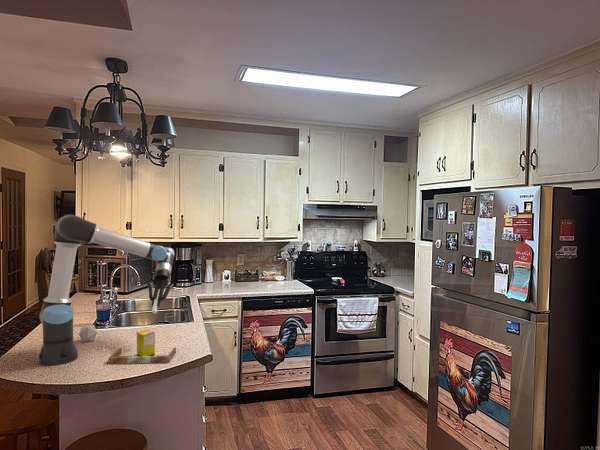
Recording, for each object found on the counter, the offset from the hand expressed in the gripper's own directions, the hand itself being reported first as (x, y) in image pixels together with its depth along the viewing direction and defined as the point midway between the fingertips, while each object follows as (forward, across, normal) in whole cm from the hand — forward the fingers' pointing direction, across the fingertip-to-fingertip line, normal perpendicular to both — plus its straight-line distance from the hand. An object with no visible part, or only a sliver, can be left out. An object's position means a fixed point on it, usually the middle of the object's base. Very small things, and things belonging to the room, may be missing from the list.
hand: (154, 312), depth 200 cm
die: (+4, +36, -20) cm, 42 cm away
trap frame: (+23, 0, -1) cm, 23 cm away
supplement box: (+21, 0, -4) cm, 21 cm away
